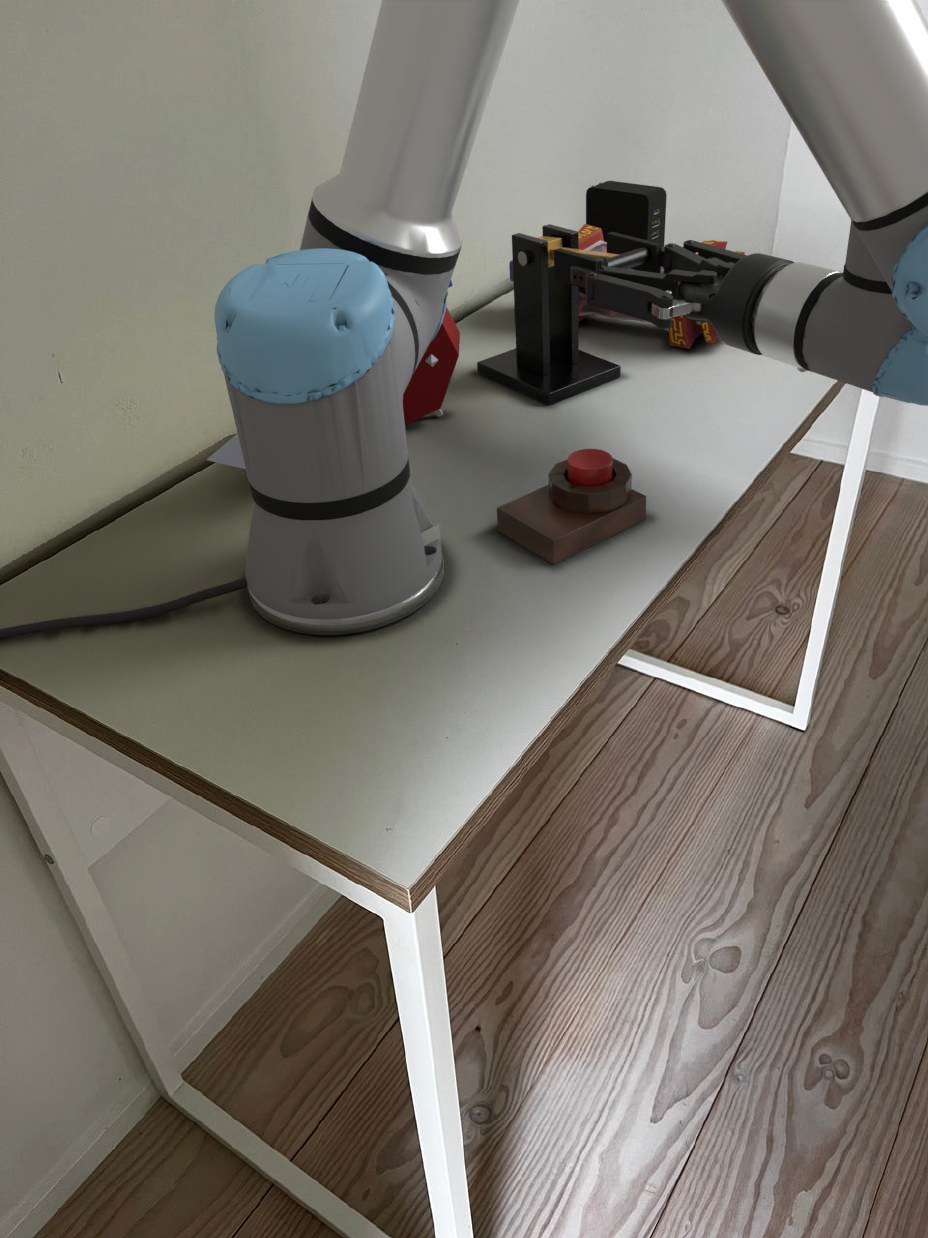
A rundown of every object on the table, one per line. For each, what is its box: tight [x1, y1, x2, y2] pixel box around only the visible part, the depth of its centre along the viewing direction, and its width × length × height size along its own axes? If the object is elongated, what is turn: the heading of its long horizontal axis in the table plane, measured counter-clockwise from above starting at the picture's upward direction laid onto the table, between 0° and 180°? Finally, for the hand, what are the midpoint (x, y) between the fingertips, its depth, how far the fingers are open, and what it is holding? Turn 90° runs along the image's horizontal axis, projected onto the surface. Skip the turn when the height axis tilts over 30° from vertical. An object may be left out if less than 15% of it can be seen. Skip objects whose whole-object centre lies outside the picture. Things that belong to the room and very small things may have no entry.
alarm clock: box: [403, 280, 461, 426], centre depth 94 cm, size 15×9×20 cm, turn 89°
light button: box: [566, 448, 614, 487], centre depth 80 cm, size 4×4×2 cm
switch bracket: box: [476, 223, 622, 406], centre depth 103 cm, size 12×10×15 cm
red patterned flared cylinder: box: [508, 223, 746, 350], centre depth 115 cm, size 10×9×30 cm
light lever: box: [537, 235, 651, 269], centre depth 96 cm, size 13×6×2 cm, turn 37°
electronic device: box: [585, 180, 667, 247], centre depth 133 cm, size 4×10×10 cm, turn 47°
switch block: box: [496, 457, 647, 565], centre depth 80 cm, size 10×7×4 cm
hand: (583, 255), depth 95 cm, fingers closed on light lever, 6 cm apart
